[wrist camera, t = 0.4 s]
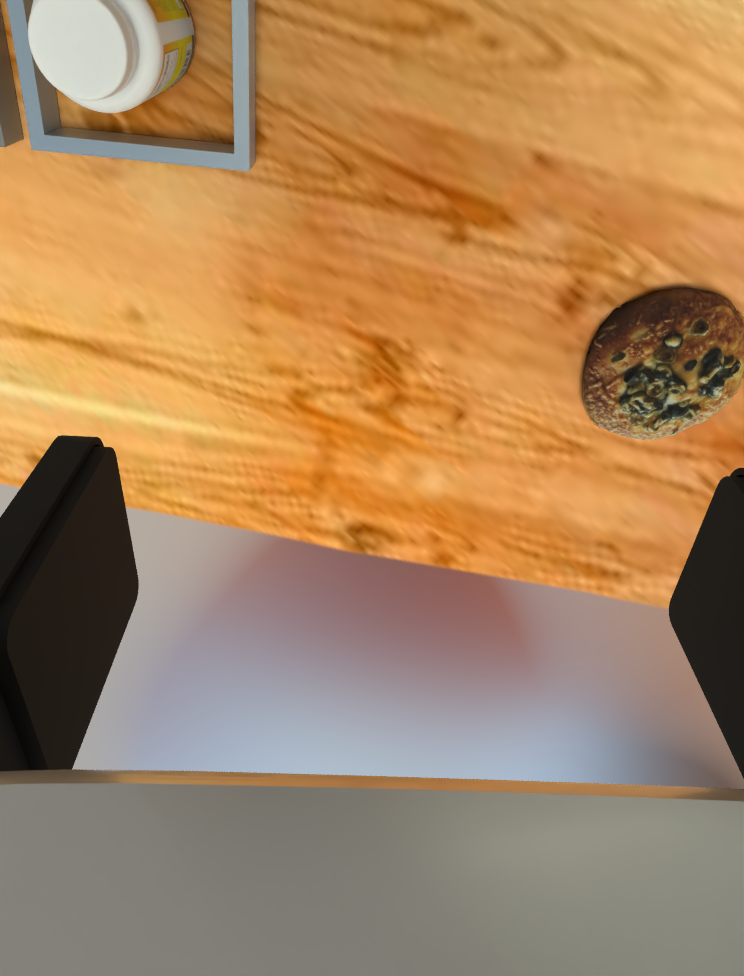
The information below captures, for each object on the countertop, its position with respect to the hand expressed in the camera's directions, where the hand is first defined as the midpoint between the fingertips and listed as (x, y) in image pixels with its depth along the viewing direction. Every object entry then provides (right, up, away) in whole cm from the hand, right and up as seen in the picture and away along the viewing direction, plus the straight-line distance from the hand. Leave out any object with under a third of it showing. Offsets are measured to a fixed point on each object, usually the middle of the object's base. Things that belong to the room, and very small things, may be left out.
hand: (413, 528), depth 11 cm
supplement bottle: (-13, +25, +26) cm, 38 cm away
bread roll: (+19, +9, +37) cm, 43 cm away
